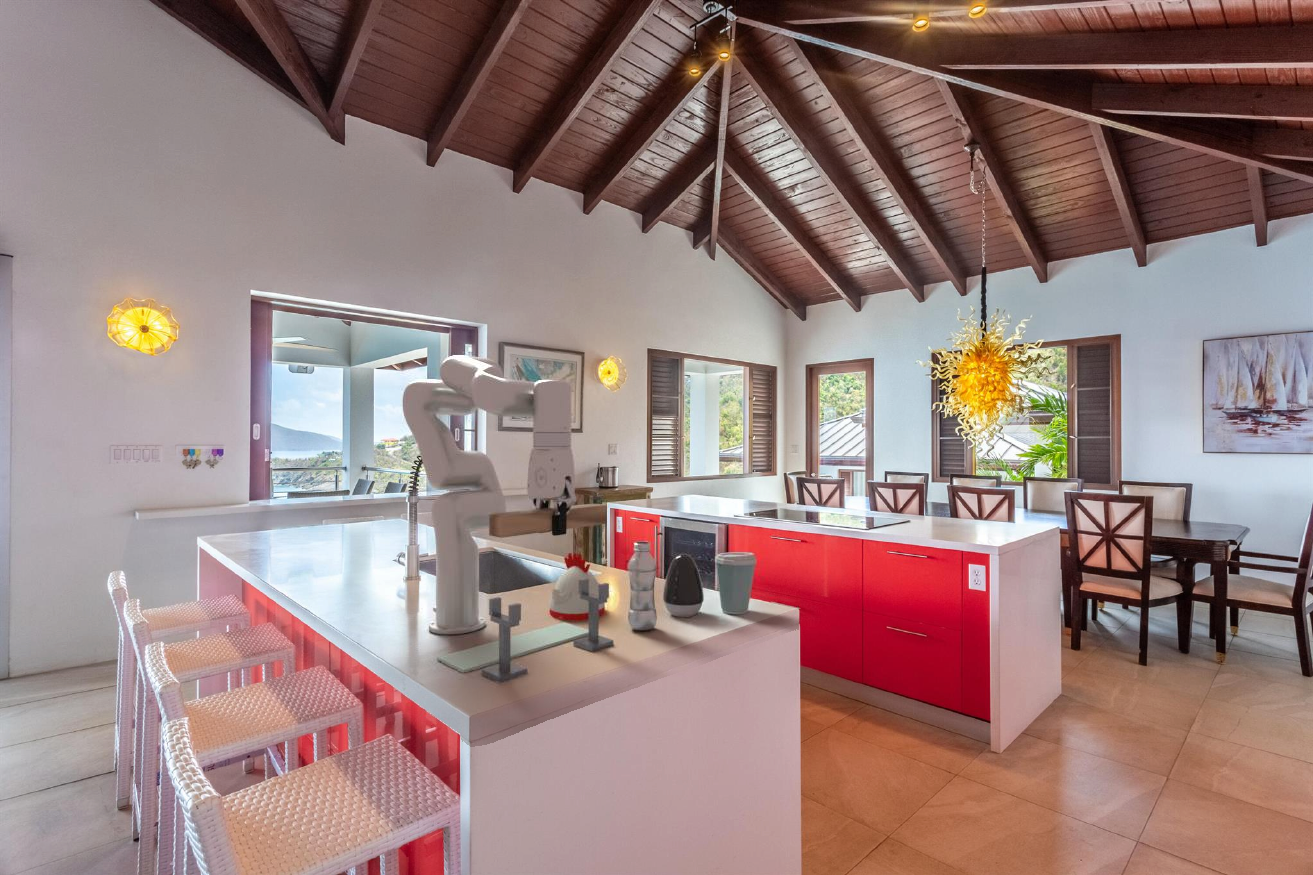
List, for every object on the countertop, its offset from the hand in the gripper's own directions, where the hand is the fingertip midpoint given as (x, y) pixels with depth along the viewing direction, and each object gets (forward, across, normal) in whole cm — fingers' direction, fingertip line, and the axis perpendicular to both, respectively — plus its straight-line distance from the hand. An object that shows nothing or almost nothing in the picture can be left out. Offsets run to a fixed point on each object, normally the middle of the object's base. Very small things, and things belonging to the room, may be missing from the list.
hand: (551, 532), depth 122 cm
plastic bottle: (+25, 0, +26) cm, 36 cm away
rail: (-1, 0, 0) cm, 1 cm away
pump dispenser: (+25, -1, +42) cm, 49 cm away
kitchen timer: (+25, -22, +25) cm, 42 cm away
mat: (+25, -11, 0) cm, 27 cm away
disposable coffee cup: (+25, +7, +53) cm, 59 cm away
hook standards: (+25, 0, 0) cm, 25 cm away
